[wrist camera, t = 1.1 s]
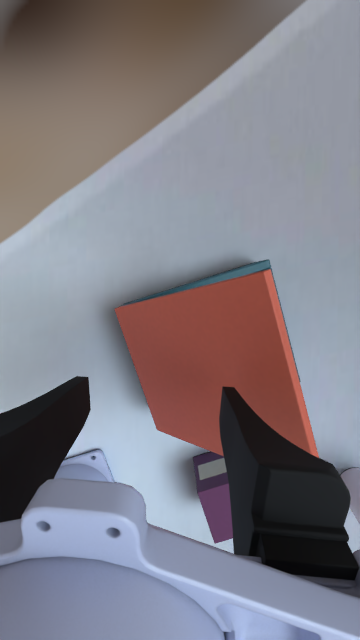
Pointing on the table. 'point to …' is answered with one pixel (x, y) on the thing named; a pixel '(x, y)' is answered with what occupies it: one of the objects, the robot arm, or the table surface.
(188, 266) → the table surface
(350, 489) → the smoothie
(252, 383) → the lunchbox lid
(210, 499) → the juice box
